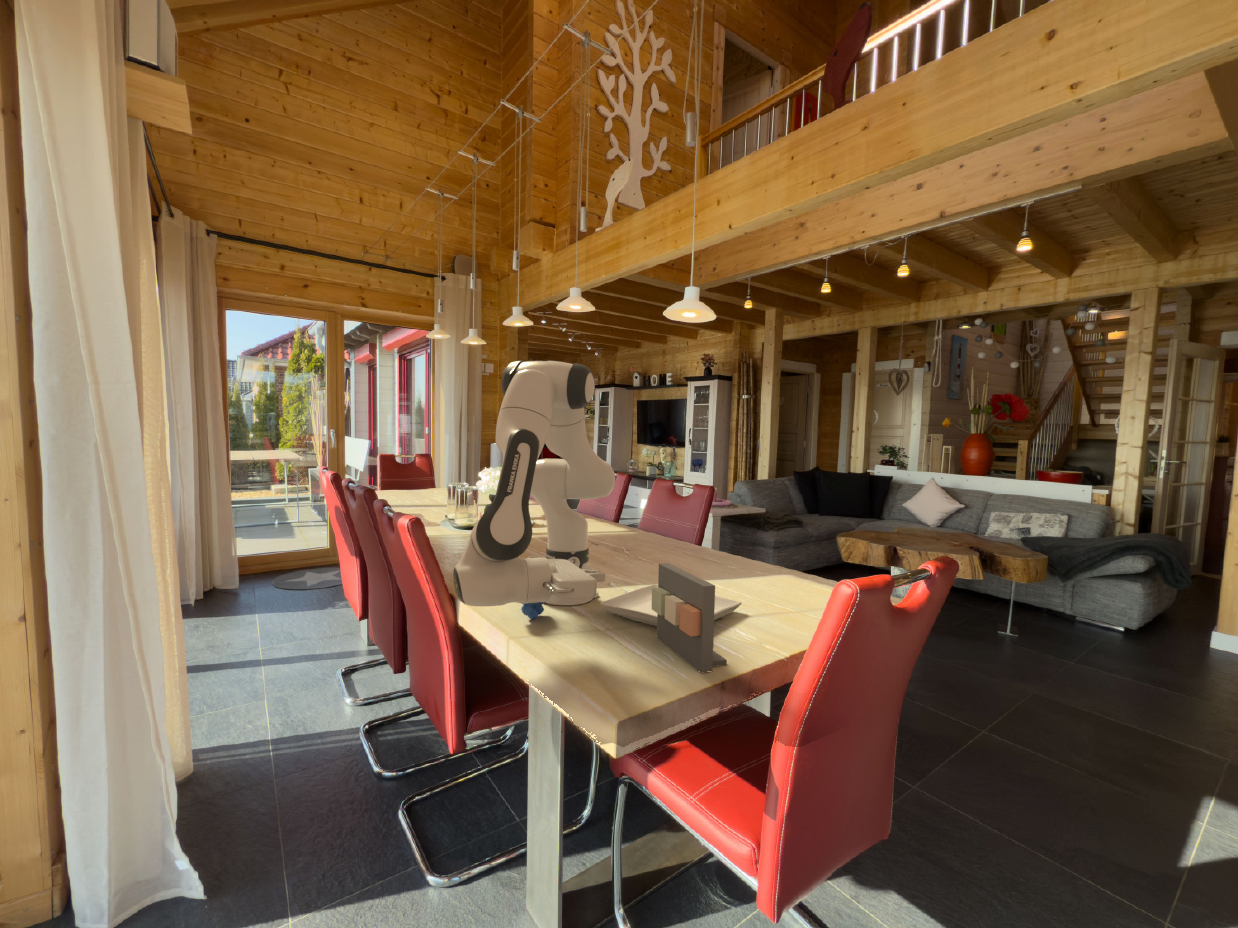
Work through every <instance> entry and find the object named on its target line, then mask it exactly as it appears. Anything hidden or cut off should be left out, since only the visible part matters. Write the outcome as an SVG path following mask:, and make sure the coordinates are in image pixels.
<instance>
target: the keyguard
mask: <svg viewBox="0 0 1238 928" xmlns="http://www.w3.org/2000/svg"><path fill="white" fill-rule="evenodd" d="M657 580H658V582H657V584H658V587H663V588H665V589H666V590H668V591H670V596H671V595H677V596H678V597H680V598H682V599H683V600H685V604H692V605H694V606H695V607H697V608H699V609H700V610H701V635H699V636H689V635H688V634H686V633H685V632H683V631H682V630H681V629H679V625H676V626H675V625H673V624H672V623H671V622H669V621H668V620H666V619H665V615H663V616H661V615H659V614H658V613H657V626H656V638H657V640H659V641H660V642H661V643H662V644H664V645H665V646H666V647H668V648H669V649H670V650H671V651H673V652H674V653H675V654H677V655H678V656H679V657H680V658H682V660H684V661H685V662H686V663H687V664H689V665H690V666H692V667H693V668H694V667H695V668H696V669H695V668H694V669H695V670H697V671H698V672H699V671H700V672H701V673H700V672H699V673H700V674H703V673H702V672H706V673H708V672H707V671H712V672H713V667H720V666H726V665H725V664H727V665H728V663H727V661H728V660H727V658H725V657H723V656H722V655H721V654H719V653H718V652H716V651H715V650H714V636H715V632H714V631H715V620H714V608H715V596H716V585H715V584H714V583H711V582H709V581H707V580H705V579H702V578H700V577H698V576H696V575H694V574H692V573H690V572H688V571H685V569H682V568H680V567H677V566H676V565H674V564H672V563H669V562H666V563H664V562H663V563H658V579H657Z"/></svg>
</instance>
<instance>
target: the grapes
mask: <svg viewBox="0 0 1238 928" xmlns="http://www.w3.org/2000/svg"><path fill="white" fill-rule="evenodd" d="M544 604H546V603H545V602H538V603H525V604H522V606H521V608H520V610H521V613H522V614H523V615H525V616H526V617H527V618H529V619H530V620H535V619H537V617H538V616H540V615H541V614H543V612H544V611H545V608H544V606H543V605H544Z"/></svg>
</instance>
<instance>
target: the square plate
mask: <svg viewBox="0 0 1238 928" xmlns="http://www.w3.org/2000/svg"><path fill="white" fill-rule="evenodd" d="M657 587H658V583H654V584H652V585H647V586H644V587H641V588H638V589H634V590H632V591H627V592H626V593H623V594H619V595H617V596H615V597H612V598H609V599H607V600H604V601H601V602H600V603H599V606H601V607H602V608H603V609H605V610H606V611H607V612H609V613H611V614H613V615H617V616H621V617H623V618H625V619H627V620H631V621H634V622H639V623H643V624H645V625H651V626H653V627H657V613H656V612H655V611H653V610H652V588H657ZM741 605H742V602H741V601H738V600H734V599H729V598H726V597H722V596H717V595H715V608H714V621H715V620H718V619H721V618H722V617H726V616H727V615H729V614H730V613H732V612H734V611H735V610H737V609H738V608H739V607H740V606H741Z"/></svg>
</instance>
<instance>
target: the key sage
mask: <svg viewBox="0 0 1238 928" xmlns="http://www.w3.org/2000/svg"><path fill="white" fill-rule="evenodd" d="M665 596H670V591H668V590H666V589H665V588H663V587H657V588H652V610H653V611H655V612H656V613H658V614H659V615H661V616H663V615H665Z"/></svg>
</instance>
